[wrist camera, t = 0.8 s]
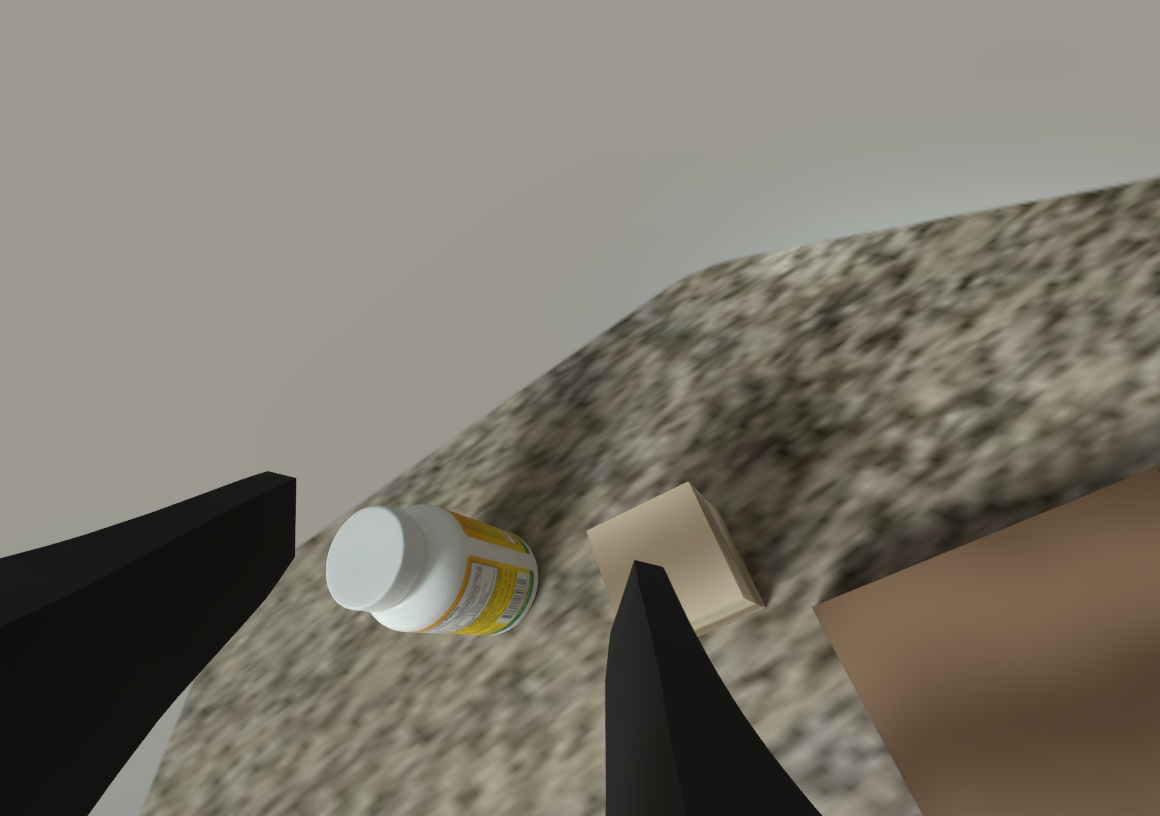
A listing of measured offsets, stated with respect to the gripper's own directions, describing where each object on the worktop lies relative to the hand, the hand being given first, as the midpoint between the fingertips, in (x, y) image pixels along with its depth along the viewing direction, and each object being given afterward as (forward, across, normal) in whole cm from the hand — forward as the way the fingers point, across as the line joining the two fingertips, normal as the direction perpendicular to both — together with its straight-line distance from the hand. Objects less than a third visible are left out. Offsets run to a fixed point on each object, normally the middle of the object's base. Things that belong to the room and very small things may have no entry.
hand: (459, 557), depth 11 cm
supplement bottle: (+14, 0, +13) cm, 19 cm away
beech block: (+11, -9, +8) cm, 16 cm away
